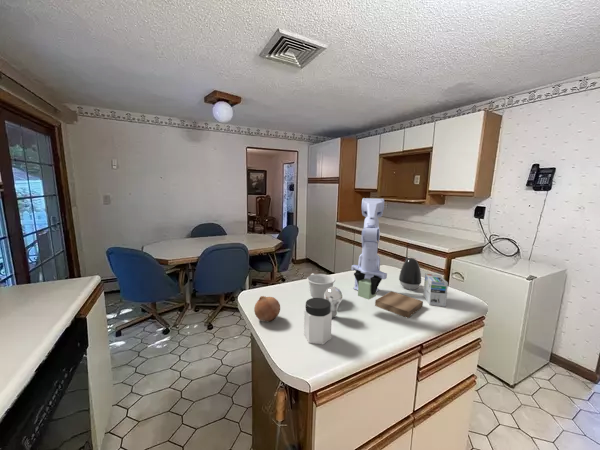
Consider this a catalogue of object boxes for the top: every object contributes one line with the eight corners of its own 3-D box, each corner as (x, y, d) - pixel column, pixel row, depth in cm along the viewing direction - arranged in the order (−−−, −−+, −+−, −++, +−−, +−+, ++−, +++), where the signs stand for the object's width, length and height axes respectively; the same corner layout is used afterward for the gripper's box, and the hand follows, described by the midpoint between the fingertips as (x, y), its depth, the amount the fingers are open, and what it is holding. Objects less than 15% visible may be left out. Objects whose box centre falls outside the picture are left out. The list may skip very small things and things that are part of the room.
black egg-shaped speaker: (412, 283, 136) (415, 255, 134) (424, 291, 126) (427, 260, 124) (394, 283, 135) (396, 255, 132) (405, 292, 125) (407, 261, 122)
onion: (257, 326, 97) (246, 302, 97) (277, 313, 102) (267, 290, 102) (267, 329, 89) (255, 302, 89) (288, 315, 94) (277, 289, 94)
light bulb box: (446, 307, 110) (448, 282, 108) (428, 305, 111) (431, 281, 109) (438, 296, 120) (440, 274, 118) (422, 295, 121) (424, 272, 120)
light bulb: (342, 314, 102) (344, 285, 100) (339, 323, 95) (341, 292, 93) (325, 311, 104) (326, 282, 102) (321, 319, 97) (322, 289, 95)
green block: (357, 295, 103) (358, 281, 102) (364, 292, 107) (365, 278, 106) (368, 299, 100) (369, 284, 99) (375, 296, 103) (376, 281, 102)
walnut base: (375, 305, 110) (375, 300, 109) (391, 296, 119) (391, 291, 119) (408, 318, 100) (408, 312, 99) (422, 306, 109) (423, 301, 109)
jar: (315, 327, 92) (316, 294, 90) (334, 336, 87) (336, 302, 85) (298, 338, 85) (299, 303, 84) (319, 348, 80) (320, 311, 78)
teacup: (322, 290, 124) (322, 270, 123) (339, 303, 111) (340, 281, 109) (299, 294, 119) (299, 273, 117) (314, 309, 106) (315, 285, 104)
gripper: (347, 256, 103) (346, 288, 105) (381, 264, 93) (378, 300, 95) (357, 253, 108) (356, 284, 110) (390, 261, 98) (388, 295, 100)
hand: (367, 291), depth 103 cm, fingers closed on green block, 5 cm apart
